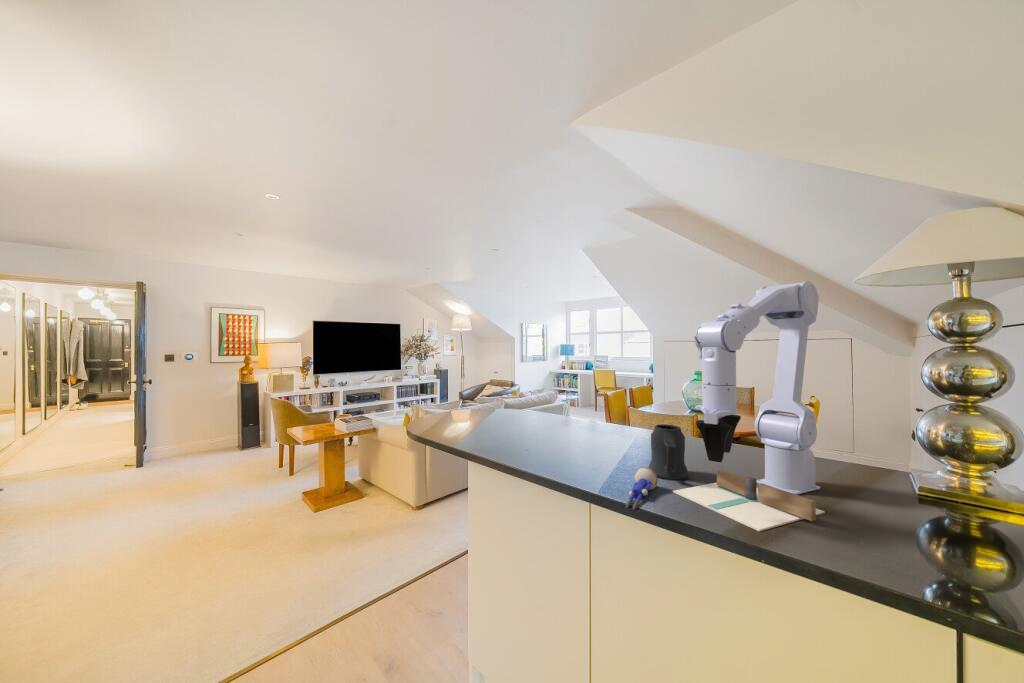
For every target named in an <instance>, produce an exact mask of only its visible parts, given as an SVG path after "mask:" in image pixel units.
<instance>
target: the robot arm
mask: <svg viewBox="0 0 1024 683" xmlns="http://www.w3.org/2000/svg"><path fill="white" fill-rule="evenodd" d="M819 300H820V296H819V292H818V290H817V287H816V286H815V284H814V283H812V282H811V281H809V280H805V281H802V282H795V283H789V284H787V283H786V284H781V285H772V286H761V287H760V288H759V289H756V291H755V296H754V297H753V298H752V299H751V300H750V301H749V302H747V303H746V304H745V303H733V304H730V306H729V308H730V309H728V310H727V311H726V312H724V313H722V314H721V313H720V314H719V315H717V316H716V317H717V318H716V319H714V320H713V321H704V322H703V323H702V324H700V325H699V326H698V327H697V328H696V331H695V335H694V336H693V339H694V343H695V346H696V348H697V351H698V357H699V359H700V360H701V403H702V404H696V405H695V408H694V409H695V410H696V411H697V410H698V411H701V412H702V414H704V416H703V417H704V420H703V419H698V420H696V421H695V425H696V428H697V429H698V431H699V434H700V436H701V437H702V439H703V444H704V448H705V452H706V456H707V458H708V461H710V462H716V463H722V462H723V460H724V456H725V453H727V454H729V453H730V452H731V450H732V449H731V448H732V446H733V445H732V444H733V441H734V436H735V431H736V429H737V427H738V425H739V423H740V421H741V418H742V416H741V415H738V413H739V408H737V407H738V406H737V405H738V404H737V351H738V350H740V349H741V348H742V347H743V343H744V340H745V339H746V336H747V335H748V334H750V333H751V332H752V331H754V330H755V329H756V328H757V327H758V326H759V324H760V321H761V317H764V318H765V319H766V320H767V322H768V323H769V324H770V325H773V326H775V327H777V328H778V329H779V338H778V346H777V347H778V348H777V355H776V356H777V357H776V365H775V366H776V367H775V374H774V382H773V392H772V397H771V399H769V400H767V401H765V402H763V403H762V404H760V406H759V410H758V414H757V416H756V418H755V421H754V431H755V433H756V436H757V437H758V438H759V439H760V440H761V441H760V442H761V443H762V444H764V478H761V479H756V480H757V485H758V484H760V483H763V484H766V485H769V486H772V487H775V488H778V489H781V490H784V491H787V492H790V493H793V494H796V495H800V494H804V493H808V492H812V491H813V492H814V491H816V490H821V486H819V485H816V457H815V455H814V453H813V451H812V450H811V449H810V448H811V447H812V446H813V445H814V444H815V442H816V440H817V437H818V436H817V435H818V429H817V425H816V414H815V412H814V411H813V410H812V409H810V408H809V407H808V406H807V405H806V404H804V402H802V393H803V392H802V391H803V383H804V373H805V364H806V355H807V353H806V352H807V344H808V337H809V336H808V335H809V327H810V325H812V324H814V323H816V322H817V316H818V311H819V310H818V309H819ZM788 414H789V415H788ZM792 415H793V416H792ZM794 415H795V416H794Z"/></svg>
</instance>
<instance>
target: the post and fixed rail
mask: <svg viewBox="0 0 1024 683" xmlns="http://www.w3.org/2000/svg"><path fill="white" fill-rule="evenodd" d="M757 480H758V479H756V478H754V477H747V476H742V475H738V474H735V473H732V472H730V471H727V470H723V469H722V468H721V469H717V470H716V482H717V485H718V486H720V487H723V488H726V489H728V490H731V491H733V492H736V493H739V494H741V495H744V496H745V498H746V499H748V500H757V488H758V483H757Z"/></svg>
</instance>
